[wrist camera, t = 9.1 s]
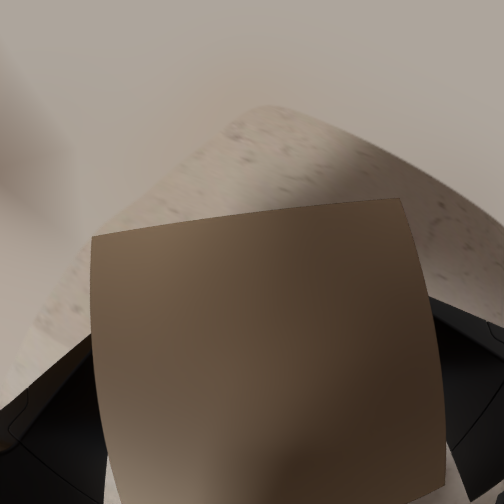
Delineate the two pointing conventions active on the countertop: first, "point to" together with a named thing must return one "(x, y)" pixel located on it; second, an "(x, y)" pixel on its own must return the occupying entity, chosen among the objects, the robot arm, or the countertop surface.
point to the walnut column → (269, 359)
